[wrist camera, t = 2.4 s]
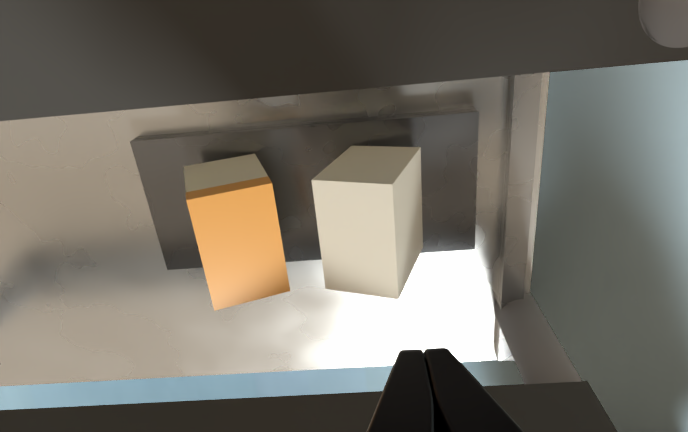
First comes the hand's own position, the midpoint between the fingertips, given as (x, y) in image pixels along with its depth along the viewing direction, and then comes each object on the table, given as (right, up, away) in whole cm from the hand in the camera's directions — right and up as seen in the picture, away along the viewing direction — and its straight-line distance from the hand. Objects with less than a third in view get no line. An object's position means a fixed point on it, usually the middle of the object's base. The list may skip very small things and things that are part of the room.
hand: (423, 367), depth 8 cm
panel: (-7, +4, +9) cm, 12 cm away
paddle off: (-5, +3, +7) cm, 10 cm away
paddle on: (0, +3, +7) cm, 8 cm away
